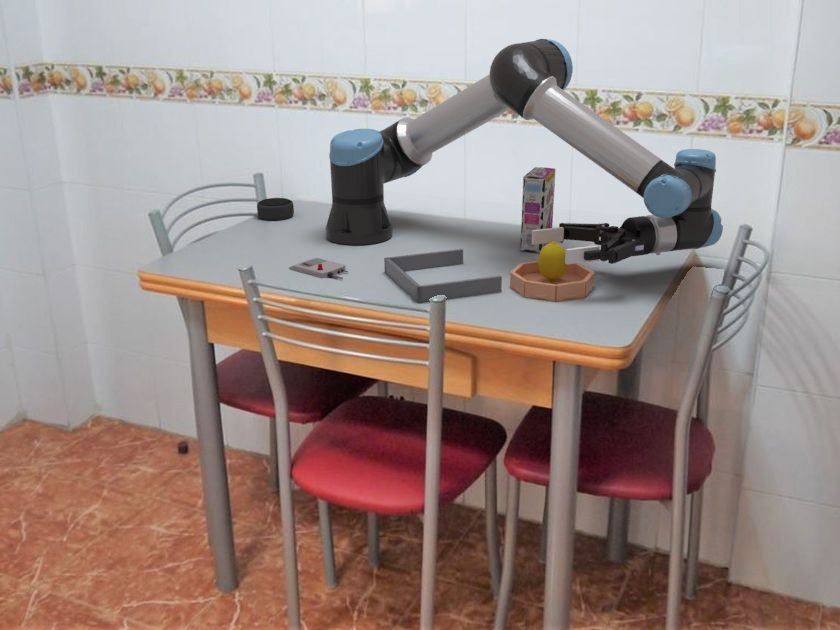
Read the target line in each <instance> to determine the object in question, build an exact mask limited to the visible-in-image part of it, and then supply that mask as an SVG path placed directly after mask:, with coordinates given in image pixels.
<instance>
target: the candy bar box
mask: <svg viewBox="0 0 840 630" xmlns="http://www.w3.org/2000/svg"><path fill="white" fill-rule="evenodd" d="M556 170H557V169H556V168H553V167H541V166H540V167H539V166H538V167H536V166H534V167H533V169H531V170H529V172H527V173H526V174H525V175H523V178H522V179H523V180H522V182H523V183H522V184H523V185H522V204H521V226H520V227H521V229H520V246H519V247H520V248H519V251H520V252H523V253H524V252H527V253H536V254H540V251H541V249H542V248H543V247H544V246H545V245H547V244H549V243H544V244H536V245H533V244H532V230H540V229H548V228H553V221H554V220H553V219H554V218H553V217H554V202H555V201H554V199H555V185H556V183H555V181H556Z"/></svg>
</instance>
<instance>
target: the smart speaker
mask: <svg viewBox="0 0 840 630" xmlns="http://www.w3.org/2000/svg"><path fill="white" fill-rule="evenodd" d="M294 207H295V206H294V202H293V200H291V199H289V198H287V197H286V198H284V197H269V198H264V199H262V200H260V201H258V202H257V204H256V211H257V216H258V218H259V219H262V220H265V221H283V219H284V220H287V218H288V219H290V218H292V217H293V216H294V214H295V211H294V210H295V208H294Z"/></svg>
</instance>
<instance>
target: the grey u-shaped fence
mask: <svg viewBox="0 0 840 630" xmlns="http://www.w3.org/2000/svg"><path fill="white" fill-rule="evenodd" d="M383 258H384V265H383V266H384V273H385V274H386V275H387V276H388V277H389V278H390V279H391V280H393V281H394V283H396V284H397V285H398V286H399V287H400V288H402V290H404V291H405V293H406V294H407V295H409V296H410V298H412V299H413V300H414V301H415V302H416V303H418V304H420V303H427V302H428V301H429V299H430V298H432V297H434V296H437V295H445V296H446V297H447V299H446V300H449V299H457V298H465V297H466V298H467V297H471V296H473V297H474V296H478V295H480V296H481V295H488V294H493V293H501V292H503V291H502V287H503V286H502V283H503V282H502V281H503V278H502V277H503V276H502V275H493V276H492V275H491V276H484V277H483V276H482V277H476V278H469V279H461V280H453V281H446V282H445V281H444V282H438V283H431V284H424V285H420V284H419V283H418V282H417V281H416V280H415V279H413V278H412V277H411V276H410V275H409V274H408V273H406V272H407V271H414V270H415V271H416V270H422V269H423V270H424V269H431V268H440V267H449V266H454V265H455V266H456V265H462V264H464V249H463V248H458V249H448V250H440V251H439V250H438V251H431V252H424V253H422V252H421V253H413V254H406V255H398V256H390V257H389V256H388V257H387V256H386V257H383ZM429 302H430V301H429ZM429 302H428V303H429Z"/></svg>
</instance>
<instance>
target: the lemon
mask: <svg viewBox="0 0 840 630" xmlns="http://www.w3.org/2000/svg"><path fill="white" fill-rule="evenodd" d="M538 254H539V255H538V258H537V261H538V268H539V271H540V273H541V274H542V275H543V276H544V277H545V278H547V279H548V280H549V281H550V282H554V281H555V280H556V279H558V278H560V277H561V276H562V275H563V274H564V273H565V271H566V268H567V264H565V255H566V248H564V247H563V245H561V244H559V243H558V242H555V241H552V242H551V243H548V244H547V245H545V246H544V247H543V248H542V249H541V251H540V253H538Z"/></svg>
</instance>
